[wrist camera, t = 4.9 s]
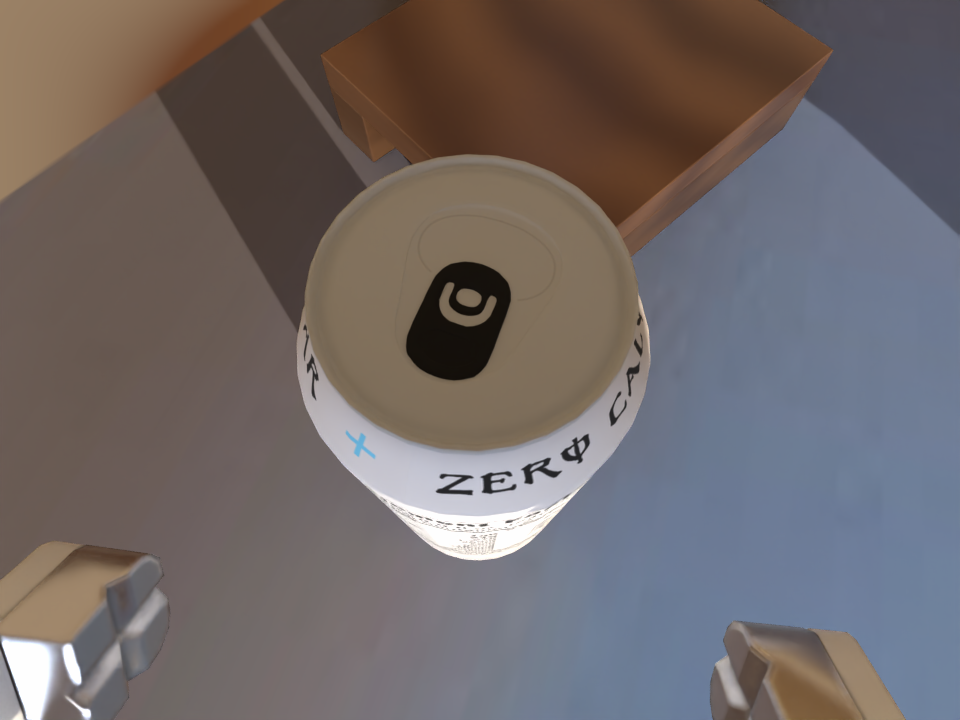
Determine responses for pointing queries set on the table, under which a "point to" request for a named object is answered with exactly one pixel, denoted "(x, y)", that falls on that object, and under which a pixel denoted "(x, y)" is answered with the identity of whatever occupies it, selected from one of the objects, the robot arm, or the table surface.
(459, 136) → the platform
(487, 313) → the energy drink can
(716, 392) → the table surface
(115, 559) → the robot arm
